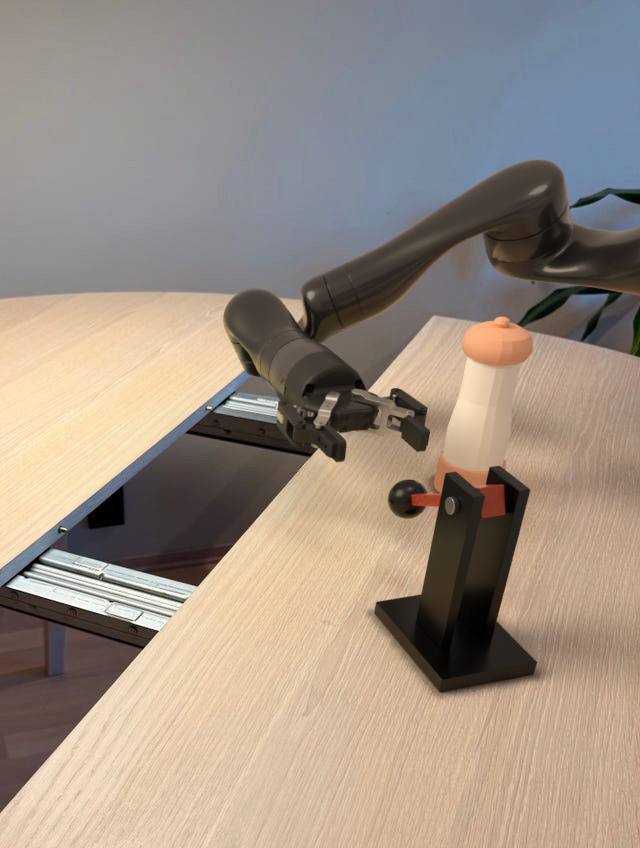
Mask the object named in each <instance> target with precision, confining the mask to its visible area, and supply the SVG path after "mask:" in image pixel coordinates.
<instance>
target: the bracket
mask: <svg viewBox="0 0 640 848" xmlns="http://www.w3.org/2000/svg"><path fill="white" fill-rule="evenodd" d="M486 485H504V494H505V515H502V516H495V517H488V518H480V517H481V512H482V508H483V504H484V499H485V496H484V495H483V494H482V493H481V492H480V491H478V490H477V489H476V488H475V487H474V486H473V485H471V484H470V483H469V482H468V481H467V480H465V479H464V478H463V477H462V476H461V475H459V474H458V473H457V472H449V473H445V478H444V483H443V488H442V493H441V498H440V503H439V507H437V508H438V509H437V513H436V519H435V522H434V528H433V534H432V539H431V543H430V548H429V555H428V558H427V563H426V568H425V573H424V578H423V584H422V588H421V593H420V594H413V595H408V596H403V597H397V598H390V599H384V600H379V601H375V605H374V612H373V613H374V615H375V616H376V617H377V619H378V620H379V621H380V622H381V623H382V624H383V626H384V627H385V628H386V629H387V630H388V632H389V633H390V634H391V635H392V637H393V638H394V639H395V640H396V641H397V643H398V644H399V645H400V646H401V647H402V649H403V650H404V651H405V653H406V654H408V656H409V657H410V658H411V660H412V661H413V662H414V663H415V664H416V665H417V667H418V668H419V669H420V670H421V672H422V673H423V675H425V677H426V678H427V679H428V680H429V681H430V683H431V684H432V685H433V686H434V687H435V689H436V690H437V691H438V692H439V693H442V692H447V691H448V692H449V691H452V690H457V689H463V688H469V687H473V686H479V685H483V684H488V683H494V682H500V681H504V680H509V679H515V678H520V677H525V676H530V675H534V674H535V671H536V668H537V665H538V661H537V660H536V659H535V658H534V657H533V656H532V655H531V654H530V653H529V652H528V651H527V650H526V649H525V648H524V647H523V646H522V645H521V644H520V643H519V642H518V641H517V640H516V639H515V638H514V637H513V636H512V635H511V634H510V633H509V632H508V631H507V630H506V628H504V627H503V626H502V625H501V624H500V622H498V617H499V614H500V609H501V607H502V602H503V598H504V594H505V590H506V586H507V582H508V579H509V576H510V572H511V571H510V570H511V568H512V563H513V560H514V556H515V552H516V548H517V545H518V540H519V536H520V533H521V529H522V525H523V521H524V517H525V513H526V511H527V510H526V509H527V505H528V502H529V498H530V494H531V489H530V488H529V487H528V486H526V485H525V484H524V483H523V482H521V481H520V480H519V479H518V478H516V476H514V475H513V474H511V473H510V472H509V471H507V469H503V468H502V467H501V466H493V467H489V471H488V476H487V480H486Z"/></svg>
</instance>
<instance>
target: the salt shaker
mask: <svg viewBox="0 0 640 848" xmlns="http://www.w3.org/2000/svg"><path fill="white" fill-rule="evenodd" d="M461 347H462V351H463V353H464V355H465V356H466V362H465V366H464V371H463V372H464V373H463V376H462V381H461V386H460V390H459V394H458V397H457V400H456V402H455V404H454V405H455V406H454V408H453V410H452V413H451V416H450V419H449V422H448V424H447V427H446V434H445V441H444V446H443V447H444V448H443V450H442V451H441V452H440V453H439V456H438V460H437V465H436V469H435V474H434V479H433V487H434V489H435V490H436V491H437V492H438V494H441V493H442V488H443V483H444V478H445V473H449V472H457V473H458V474H459V475H461V476H462V477H463V478H464V479H465V480H467V481H468V482H469V483H470V484H471V485H473V486H478V485H486V480H487V476H488V471H489V467H493V466H501V467H502V468H503V469H505V470H507V469H506V468H507V462H506V460H505V457H506V453H507V449H508V446H509V442H510V438H511V434H512V420H513V419H512V418H513V405H514V404H513V403H514V396H515V392H516V387H517V383H518V378H519V374H520V370H521V365H522V364H523V363H524V362H526V361H527V360H528V359H529V358H530V356H531V354H532V353H533V349H534V340H533V338H532V336H531V333H530V332H529V331H528V330H527V329H525V328H523V327H522V326H520V325H518V324H517V323H513V322H511V320H510V318H508V317H506V316H498V317H496V318H495V319H493V320H487V321H483V322H479V323H475V324H474V325H472V326H471V327H470V328H469V329H468V330H467V331H466V332H465V334H464V336H463V338H462V340H461Z"/></svg>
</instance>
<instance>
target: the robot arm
mask: <svg viewBox="0 0 640 848" xmlns="http://www.w3.org/2000/svg"><path fill="white" fill-rule="evenodd" d="M568 192H569V191H568V187H567V181H566V177H565V174H564V172H563V170H562V168H560V166H559V165H558V164H556V163H555V162H553V161H551V160H547V159H537V158H536V159H535V158H534V159H533V158H532V159H528V160H523V161H519V162H517V163H514V164H511V165H509V166H507V167H505V168H502V169H500V170H498V171H497V172H495V173H493V174H491V175H490V176H488V177H485V178H484V179H482V180H481V181H480V182H478V183H476V184H475V185H473V186H472V187H470V188H469V189H467V190H465V191H464V192H462V193H461V194H459V195H458V196H456V197H454V198H453V199H452V200H449V201H448V202H446V203H445V204H443V205H441V206H440V207H438V208H437V209H436V210H434V211H432V212H431V213H430V214H428V215H427V216H425V217H424V218H422V219H420V220H418V221H417V222H416V223H414V224H412V226H409V227H408V228H407V229H405V230H404V231H402V232H400V233H399V234H397V235H396V236H394V237H392V238H390V239H389V240H388V241H386V242H384V243H382V244H380V245H379V246H377V247H375V248H373V249H371V250H368V251H367V252H365V253H363V254H360V255H359V256H357V257H354V258H352V259H350V260H348V261H345V262H343V263H340V264H339V265H337V266H334V267H332V268H330V269H328V270H326V271H324V272H321V273H318V274H316V275H315V276H312V277H310V278H308V279H307V280H306V281H304V282H303V284H302V285H301V287H300V299H301V305H302V310H303V311H302V312H303V314H302V316H301V317H300V318H299V320H298V321H296V319H295V317H294V316H293V315H292V313H291V311H290V310H289V309H288V307H287V306H286V305H285V303H284V302H283V301H282V300H281V299H280V297H278V296H277V294H276V293H274V292H272V291H270V290H268V289H265V288H259V287H252V288H247V289H244V290H241V291H239V292H238V293H236V294H235V295H234V296H233V297H232V298H231V299H230V300H229V301H228V302H227V304H226V306H225V307H224V311H223V315H222V324H223V328H224V330H225V333H226V336H227V338H228V339H229V341H230V344H231V346H232V347H233V350H234V351H235V354H236V356H237V358H238V360H239V363H240V365H241V366H242V368H243V370H244V372H245V373H246V374H247V375H249V376H250V377H252V378H255V379H259V380H261V379H262V380H263V381H264V383H265V384H266V385H267V386H268V387H269V388H270V389H271V390H272V391H273V392H274V393H275V395H276V397H277V398H278V401H277V409H276V410H277V411H276V428H278V429H279V431H280V432H281V433H282V435H283V436H284V437H285V438H286V440H287V441H288V443H289V444H290V445H291V446H292V447H293V448H298V449H300V448H303V447H305V444H310V446H311V447H312V448H313V449H319V450H320V451H321V452H322V453H323V454H324V455H325V456H326V457H327V458H330V459H332V460H333V461H334V462H335V463H342V462H345V460H346V455H347V448H348V447H347V445H348V443H347V440H346V438H344V437H343V436H342V435H341V434H344V433H350V432H353V431H355V432H361V431H362V432H366V433H370V434H372V435H377V436H379V437H385V436H386V435H387V434H389V435H394V436H396V437H400V438H401V440H403V441H404V442H405V443H407V445H409V446H410V447H411V448H412V449H413V451H415V452H417V453H420V452H421V453H422V452H426V450H427V447H428V446H429V441H430V438H431V437H430V435H431V430H430V429H429V428H428V427H427V426H425V425H426V420H427V415H428V410H429V407H428V406H426V405H425V404H423V403H422V402H420V401H419V400H417V399H416V398H415V397H414V396H412V395H410V394H409V393H407V392H406V391H405V390H403V389H402V388H399V387H393V388H391V389H390V393H389V396H382V397H381V396H379V395H378V394H377V393H373V392H371V391H368V390H367V388H366V385H365V383H364V380H363V378H362V377H361V375H360V374H359V372H358V371H357V370H356V369H355V368H353V366H351V365H350V364H348V363H347V362H346V361H345V360H344V359H342V358H341V356H339V355H338V354H337V353H335V352H334V351H333V350H332V349H330V348H329V347H327V346H326V345H324V344H323V343H324V342H326V341H327V340H329V339H330V338H332V337H333V336H335V335H336V334H339V333H342V332H344V331H346V330H348V329H350V328H353V327H355V326H358V325H361V324H362V323H365V322H368V321H369V320H371V319H373V318H375V317H377V316H379V315H381V314H383V313H385V312H386V311H388V310H389V309H391V308H392V307H393V306H394V305H396V304H397V303H398V302H400V300H402V299H403V298H404V297H405V296H406V295H407V294H408V292H410V291H411V290H412V288H414V286H416V284H417V283H418V282H419V281H420V279H421V278H422V277H423V276H424V275H425V274H426V273H427V272H428V271H429V270H430V269H431V268H432V267H433V266H434V265H435V264H436V263H437V262H438V261H439V260H441V259H442V258H443V257H444V256H445V255H447V254H448V253H449V252H450V251H452V250H453V249H455V248H456V247H458V246H459V245H461V244H463V243H464V242H466V241H468V240H471V239H473V238H475V237H478V236H481V235H482V241H483V244H484V248H485V252H486V256H487V259H488V262H489V263H490V265H491V266H492V268H493V269H494V270H495V271H496V272H498V273H499V274H501V275H503V276H505V277H508V278H512V279H516V280H521V281H528V282H538V283H545V284H546V283H547V284H559V285H570V286H580V287H581V286H582V287H587V288H595V289H602V290H607V291H611V292H618V293H622V294H623V293H624V294H627V295H634V296H639V297H640V224H639V225H636V226H634V227H631V228H628V229H622V230H608V229H601V228H593V227H588V226H584V225H580V224H578V223H575V222H574V221H573V220H572V215H571V214H572V213H571V207H570V201H569V193H568ZM380 410H381V415H380V421H379V424H377V423H375V422H376V420H377V417H378V416H379V413H380ZM393 419H395V420H397V421H398V422H399V425H397V424H396V425H395V424H394V423H393Z"/></svg>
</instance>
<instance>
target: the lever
mask: <svg viewBox="0 0 640 848" xmlns="http://www.w3.org/2000/svg"><path fill="white" fill-rule="evenodd" d="M474 487H475V488H476V489H477V490H478V491H480V492H481V493H482V494H483V495H484V496H485V499H484V504H483V508H482V512H481V517H480V518H488V517H495V516H502V515H505V494H504V485H478V486H474ZM440 498H441V494H440V493H439V492H438V493H435V492H434V493H431V492H429V493H428V490H427V488H426V487H425V486H424V485H423V483H421V482H419V481H418V480H416V479H410V478H409V479H407V478H406V479H402V480H400V481H398V482H396V483H394V484H393V486H392V487H391V489H390V490H389V492H388V496H387V504H388V508H389V509H390V511H391V513H392V514H394V515H395V516H396V517H398V518H400V519H403V520H413V519H414V518H417V517H420V515H422V514H423V513H424V512H425V510H426V509H427V507H436V508H439V503H440Z"/></svg>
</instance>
